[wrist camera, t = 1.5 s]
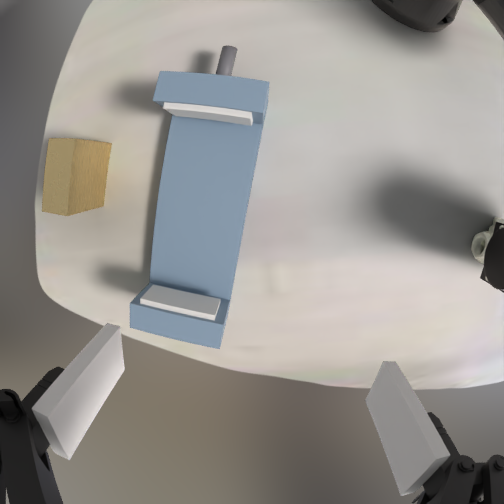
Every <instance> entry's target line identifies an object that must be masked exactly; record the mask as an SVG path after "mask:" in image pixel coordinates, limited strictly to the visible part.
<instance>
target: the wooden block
mask: <svg viewBox="0 0 504 504" xmlns="http://www.w3.org/2000/svg"><path fill="white" fill-rule="evenodd" d="M111 145H112V143H105V142H98V141H91V140H83V139H73V138H49V142H48V149H47V156H46V164H45V173H44V185H43V200H42V211H43V212H48V213H53V214H58V215H64V216H70V215H73V214H77V213H80V212H84V211H88V210H92V209H95V208H99V207H103V206H104V197H105V188H106V179H107V172H108V164H109V158H110V151H111Z"/></svg>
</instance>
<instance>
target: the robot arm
mask: <svg viewBox="0 0 504 504" xmlns="http://www.w3.org/2000/svg"><path fill="white" fill-rule="evenodd" d="M372 1H373V2H374V3H375V4H376V5H377V6H378V7H380V8H381V9H382V10H383V11H384V12H386V13H387V14H388V15H390V16H391V17H393V18H394V19H396V20H397V21H399V22H401V23H403V24H405V25H407V26H409V27H412V28H414V29H417V30H421V31H426V32H437V31H440V30H442V29H444V28H445V27H447V26H448V25H450V24H451V23H452V22H453V20H454V19H455V16H456V14H457V12H458V10H459V7H460V5H461V3H462V0H372ZM473 1H474V2H475V4H476V5H477V6H478V7H479V8H480V9H481V11H482V12H483V13H484V14H485V15H486V17H487V18H488V19H489V21H490V22H491V23H492V24H493V26H494V27H495V28H496V30H497V31H498V33H499V34H500V35H501V37H502V38H503V40H504V0H473ZM124 370H125V368H124V360H123V351H122V340H121V328H120V326H116V325H112V324H108V323H107V324H106V325H105V326H104V327H103V328H102V329H101V330H100V331H99V332H98V333H97V335H96V336H95V337H94V338H93V339H92V340H91V341H90V342H89V343H88V344H87V345H86V346H85V347H84V349H83V350H82V351H81V352H80V353H79V354H78V355H77V356H76V357H75V359H74V360H73V361H72V362H71V363H70V364H69V365H68V366H67V367H66V369H63V368H60V367H56V368H54V369H52V370H50V371H49V372H48V373H47V374H46V375H45V376H44V377H43V378H42V380H40V381H39V382H38V384H37V385H36V386H35V387H34V388H33V389H32V390H31V391H30V393H29V394H28V395H27V396H26V397H25V398H24V399H23V400H22V401H20V398H19V396H18V394H17V393H16V392H15V391H13V390H11V389H2V390H0V504H6V489H7V494H8V498H9V503H10V504H63V501H62V499H61V496H60V493H59V490H58V487H57V484H56V481H55V478H54V474H53V470H52V467H51V463H50V459H49V455H48V453H47V451H46V450H47V448H48V447H49V445H50V446H51V448H52V449H53V451H54V453H56V454H58V455H60V456H62V457H64V458H66V459H68V460H70V458H71V457H72V455H73V453H74V451H75V449H76V448H77V446H78V444H79V443H80V441H81V439H82V438H83V436H84V434H85V432H86V431H87V429H88V428H89V426H90V424H91V423H92V421H93V419H94V418H95V416H96V415H97V412H98V411H99V410H100V408H101V406H102V405H103V403H104V401H105V400H106V398H107V397H108V395H109V393H110V392H111V390H112V389H113V387H114V386H115V384H116V382H117V381H118V379H119V378H120V376H121V374H122V373H123V371H124ZM366 403H367V406H368V408H369V411H370V413H371V416H372V418H373V421H374V423H375V426H376V429H377V431H378V434H379V437H380V439H381V442H382V444H383V447H384V450H385V453H386V455H387V458H388V461H389V463H390V466H391V469H392V472H393V475H394V477H395V480H396V483H397V486H398V489H399V492H400V495H401V496H402V495H406V494H410V493H414V492H416V491H417V490H418V489H419V488H420V487H421V486H422V485H423V487H424V489H425V490H424V491H423V492H422V493H421V494H420V495H419V496H418V497H416V499H414V501H413V502H412V503H415V502H416V501H417V500H418V499H419V500H418V502H417V504H504V457H503V456H501V455H493V456H492V457H491V458H490V459H489V460H488V461H487V462H486V463H475V462H474V461H473V459H472V458H470V457H468V456H464V455H461V456H460V454H459V453H458V451H457V449H456V447H455V446H454V444H453V442H452V440H451V439H450V437H449V436H448V434H447V432H446V430H445V428H443V425H442V423H441V422H440V420H439V418H437V417H436V416H435V415H434V414H432V412H430V413H427V412H426V411H425V409H424V408H423V405H422V404H421V402H420V401H419V399H418V397H417V395H416V394H415V392H414V390H413V389H412V387H411V386H410V384H409V382H408V381H407V379H406V377H405V376H404V374H403V373H402V371H401V369H400V368H399V366H398V365H397V363H396V362H388V361H383V363H382V365H381V368H380V370H379V372H378V375H377V377H376V379H375V381H374V383H373V385H372V388H371V390H370V392H369V394H368V396H367V398H366ZM483 495H484V500H483V501H481V497H482V496H483Z"/></svg>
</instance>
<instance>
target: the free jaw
mask: <svg viewBox="0 0 504 504" xmlns="http://www.w3.org/2000/svg"><path fill="white" fill-rule="evenodd" d="M236 53H237V48H235V47H233V46H223V47H222V51H221V55H220V59H219V63H218V67H217V71H216V74H205V73H191V72H171V71H160V74H159V77H158V81H157V85H156V89H155V93H154V97H153V101H154V102H156V103H157V104H159V105H161V106H162V107H163V109H165V110H167V111H168V112H170V113H171V114H173V115H175V116H179V117H190V118H199V119H207V120H215V121H222V122H229V123H236V124H242V125H248V126H252V123H256V124H261V125H263V122H264V117H265V112H266V107H267V102H268V93H269V82H267V81H261V80H255V79H248V78H241V77H233V76H231V74H232V70H233V65H234V61H235V57H236Z"/></svg>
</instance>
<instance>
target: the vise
mask: <svg viewBox="0 0 504 504" xmlns="http://www.w3.org/2000/svg"><path fill="white" fill-rule="evenodd" d="M267 104H268V102H267ZM266 109H267V107H266ZM265 114H266V112H265ZM264 119H265V117H264ZM263 124H264V122H263ZM262 129H263V125H261V124H256V123H252V126H248V125H242V124H236V123H229V122H222V121H215V120H207V119H199V118H190V117H179V116H175V115H172V120H171V124H170V129H169V134H168V140H167V145H166V150H165V156H164V162H163V168H162V174H161V181H160V187H159V194H158V202H157V210H156V218H155V226H154V236H153V246H152V257H151V270H150V283H149V284H148V285H147V286H146V287H145V288H144V289H143V290H142V291H141V292H140V293H139V294H138V295H137V296H136V297H135V298H134V299H133V301H132V302H131V303H130V328H134V329H137V330H141V331H144V332H148V333H152V334H156V335H160V336H164V337H168V338H172V339H176V340H180V341H184V342H189V343H193V344H198V345H202V346H207V347H212V348H217V349H220V345H221V341H222V337H223V333H224V329H225V325H226V320H227V316H228V311H229V305H230V299H231V294H232V288H233V283H234V277H235V271H236V266H237V260H238V255H239V250H240V244H241V239H242V233H243V228H244V223H245V217H246V212H247V207H248V201H249V196H250V191H251V186H252V180H253V175H254V170H255V165H256V160H257V155H258V149H259V144H260V139H261V134H262Z"/></svg>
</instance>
